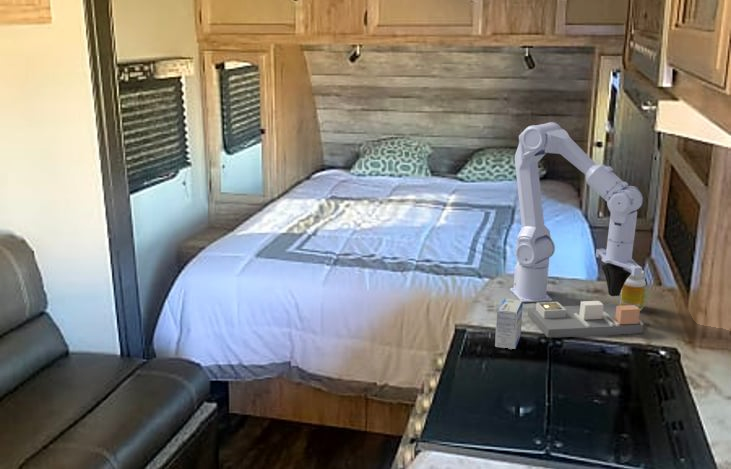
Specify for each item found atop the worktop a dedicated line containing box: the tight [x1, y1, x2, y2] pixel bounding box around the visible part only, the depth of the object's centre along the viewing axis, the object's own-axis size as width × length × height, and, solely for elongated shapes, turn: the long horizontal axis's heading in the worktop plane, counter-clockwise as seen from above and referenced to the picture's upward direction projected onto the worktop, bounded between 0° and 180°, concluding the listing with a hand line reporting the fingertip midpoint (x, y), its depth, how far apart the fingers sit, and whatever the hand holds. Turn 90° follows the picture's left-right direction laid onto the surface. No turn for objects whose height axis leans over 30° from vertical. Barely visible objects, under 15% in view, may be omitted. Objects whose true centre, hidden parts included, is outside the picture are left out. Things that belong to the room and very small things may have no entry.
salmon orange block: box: [615, 305, 641, 324], centre depth 168 cm, size 2×4×4 cm, turn 98°
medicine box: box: [494, 298, 524, 350], centre depth 161 cm, size 8×4×9 cm, turn 160°
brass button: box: [543, 301, 559, 310], centre depth 173 cm, size 4×4×2 cm
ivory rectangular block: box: [579, 300, 604, 320], centre depth 171 cm, size 2×4×4 cm, turn 98°
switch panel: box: [527, 301, 644, 339], centre depth 172 cm, size 13×22×4 cm, turn 98°
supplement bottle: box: [619, 269, 647, 311], centre depth 182 cm, size 5×5×10 cm
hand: (614, 295), depth 174 cm, fingers closed
